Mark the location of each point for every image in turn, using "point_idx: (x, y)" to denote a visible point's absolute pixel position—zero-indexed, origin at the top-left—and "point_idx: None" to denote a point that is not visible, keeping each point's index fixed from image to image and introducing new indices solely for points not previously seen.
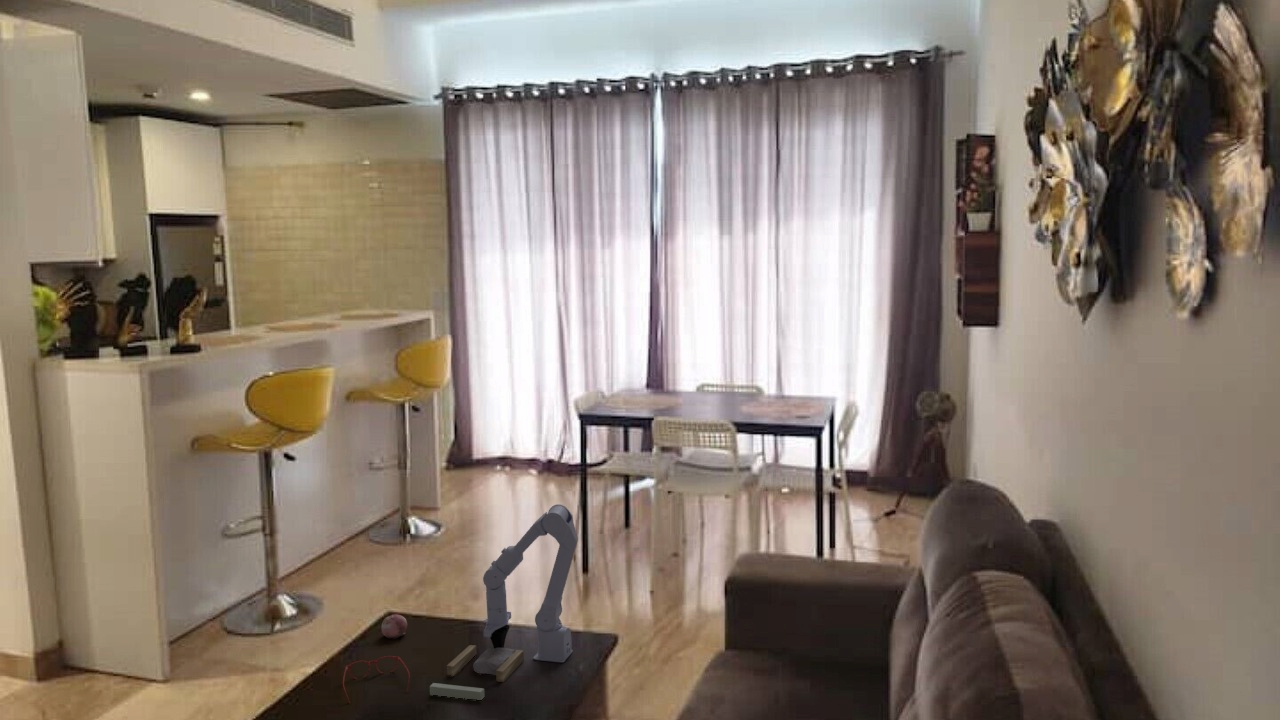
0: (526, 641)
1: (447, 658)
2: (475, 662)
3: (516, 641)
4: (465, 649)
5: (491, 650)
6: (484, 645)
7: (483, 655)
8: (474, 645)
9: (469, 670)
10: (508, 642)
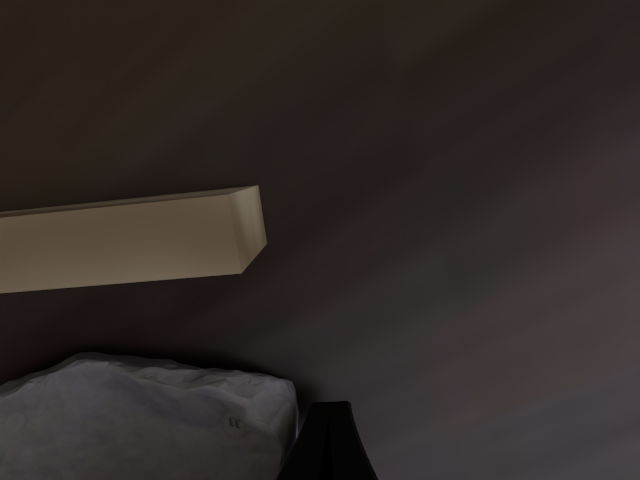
0: (615, 471)
1: (112, 12)
2: (3, 409)
3: (605, 408)
4: (105, 215)
5: (236, 438)
6: (477, 198)
7: (148, 401)
8: (237, 255)
9: (37, 326)
10: (576, 360)
